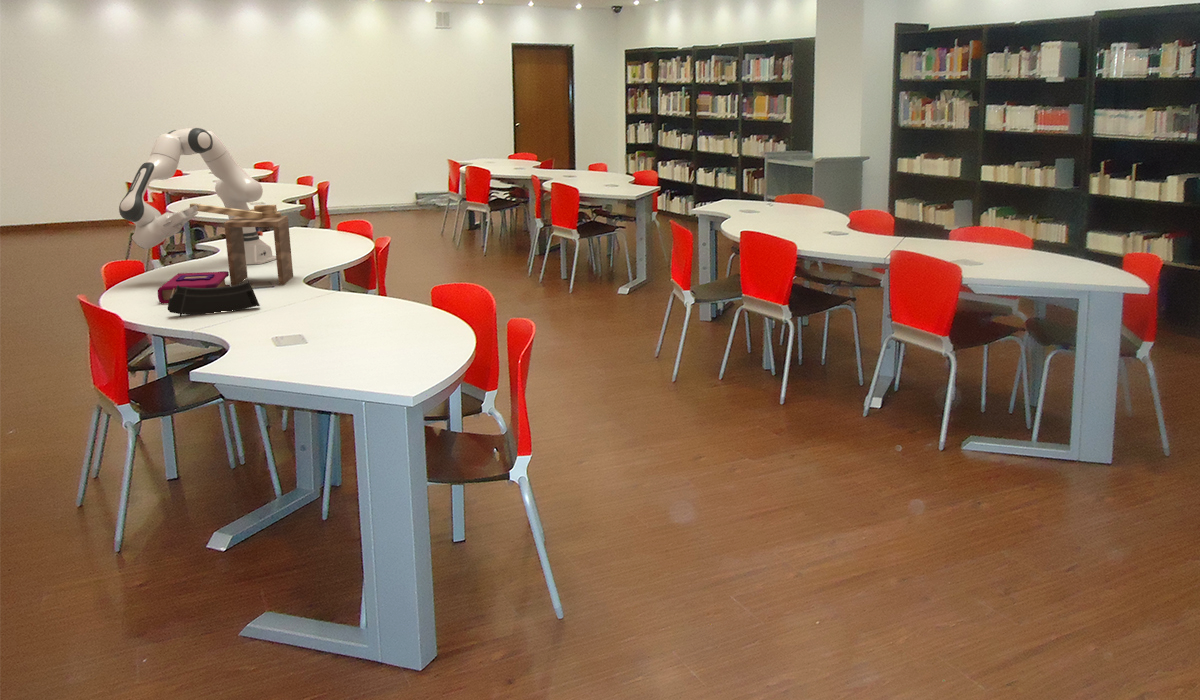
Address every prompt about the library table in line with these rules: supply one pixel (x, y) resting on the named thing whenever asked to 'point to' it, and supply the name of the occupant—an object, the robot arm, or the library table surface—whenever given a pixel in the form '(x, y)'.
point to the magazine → (212, 299)
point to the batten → (228, 211)
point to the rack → (238, 250)
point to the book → (192, 282)
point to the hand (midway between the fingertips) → (198, 205)
